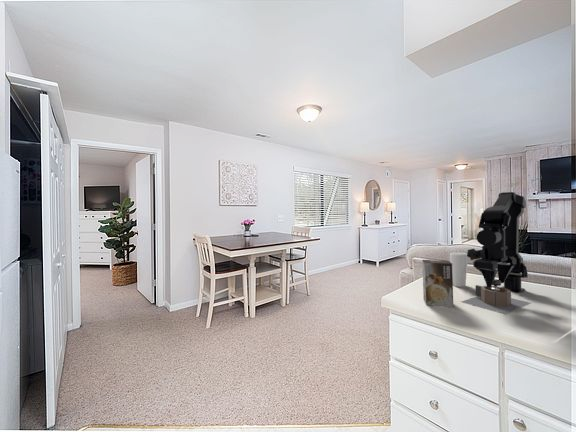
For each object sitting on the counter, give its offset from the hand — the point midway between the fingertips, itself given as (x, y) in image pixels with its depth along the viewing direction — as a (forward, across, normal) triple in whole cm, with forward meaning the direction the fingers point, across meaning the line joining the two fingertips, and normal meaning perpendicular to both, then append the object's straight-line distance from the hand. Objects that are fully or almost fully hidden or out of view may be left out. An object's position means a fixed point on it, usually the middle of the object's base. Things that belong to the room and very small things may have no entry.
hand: (495, 284), depth 97 cm
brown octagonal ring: (+7, 0, -1) cm, 7 cm away
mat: (+7, 0, 0) cm, 7 cm away
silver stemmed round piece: (+6, 0, 0) cm, 6 cm away
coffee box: (+7, +18, -11) cm, 22 cm away
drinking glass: (+7, -11, -19) cm, 23 cm away
